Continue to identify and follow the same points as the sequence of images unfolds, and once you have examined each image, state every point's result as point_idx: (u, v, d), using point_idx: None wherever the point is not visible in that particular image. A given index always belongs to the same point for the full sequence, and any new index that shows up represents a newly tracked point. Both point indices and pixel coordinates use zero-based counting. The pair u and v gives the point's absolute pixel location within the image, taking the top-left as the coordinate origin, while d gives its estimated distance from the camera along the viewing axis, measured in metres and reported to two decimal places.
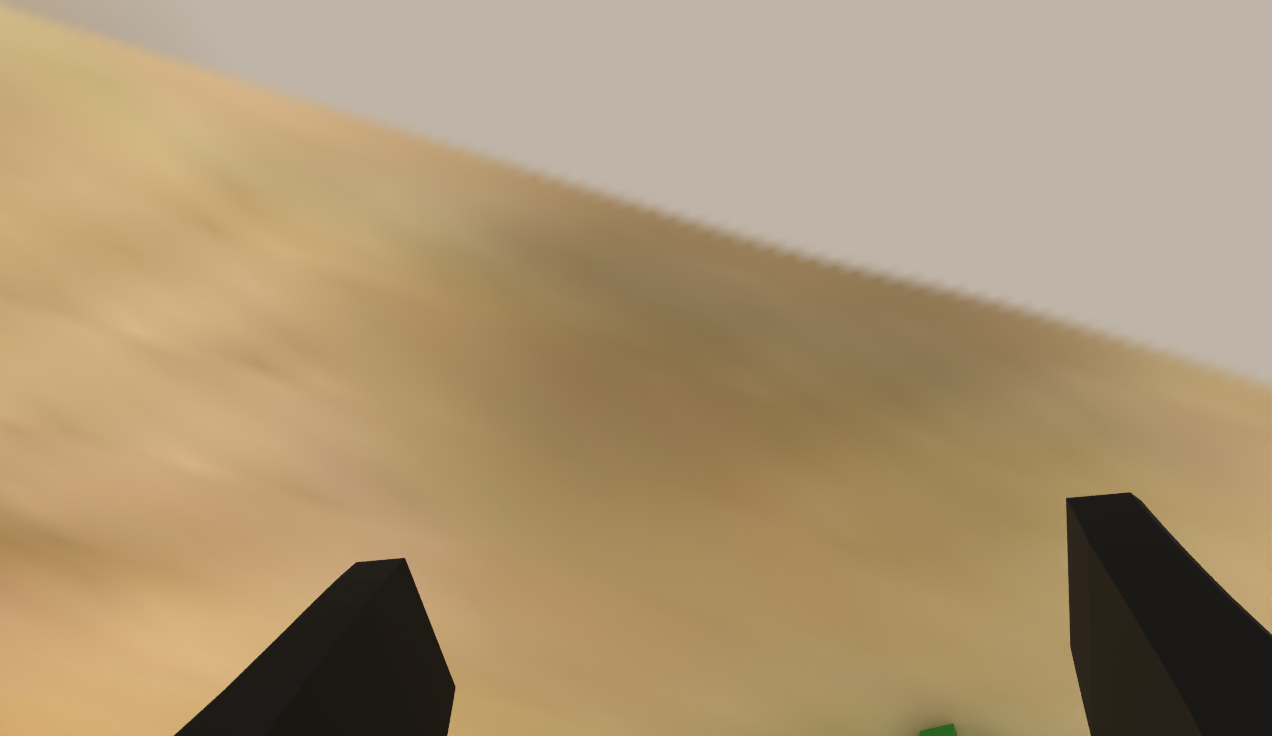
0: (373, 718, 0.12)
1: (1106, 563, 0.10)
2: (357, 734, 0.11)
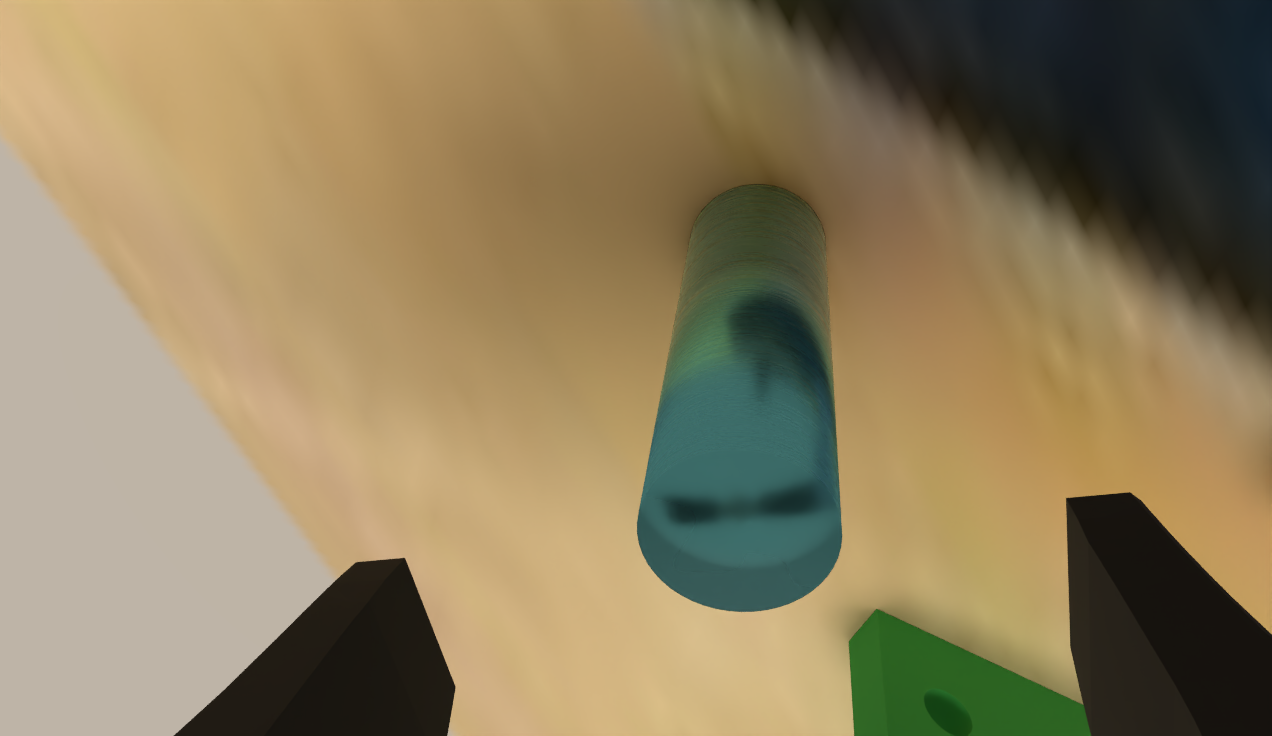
0: (373, 718, 0.12)
1: (1106, 563, 0.10)
2: (357, 734, 0.11)
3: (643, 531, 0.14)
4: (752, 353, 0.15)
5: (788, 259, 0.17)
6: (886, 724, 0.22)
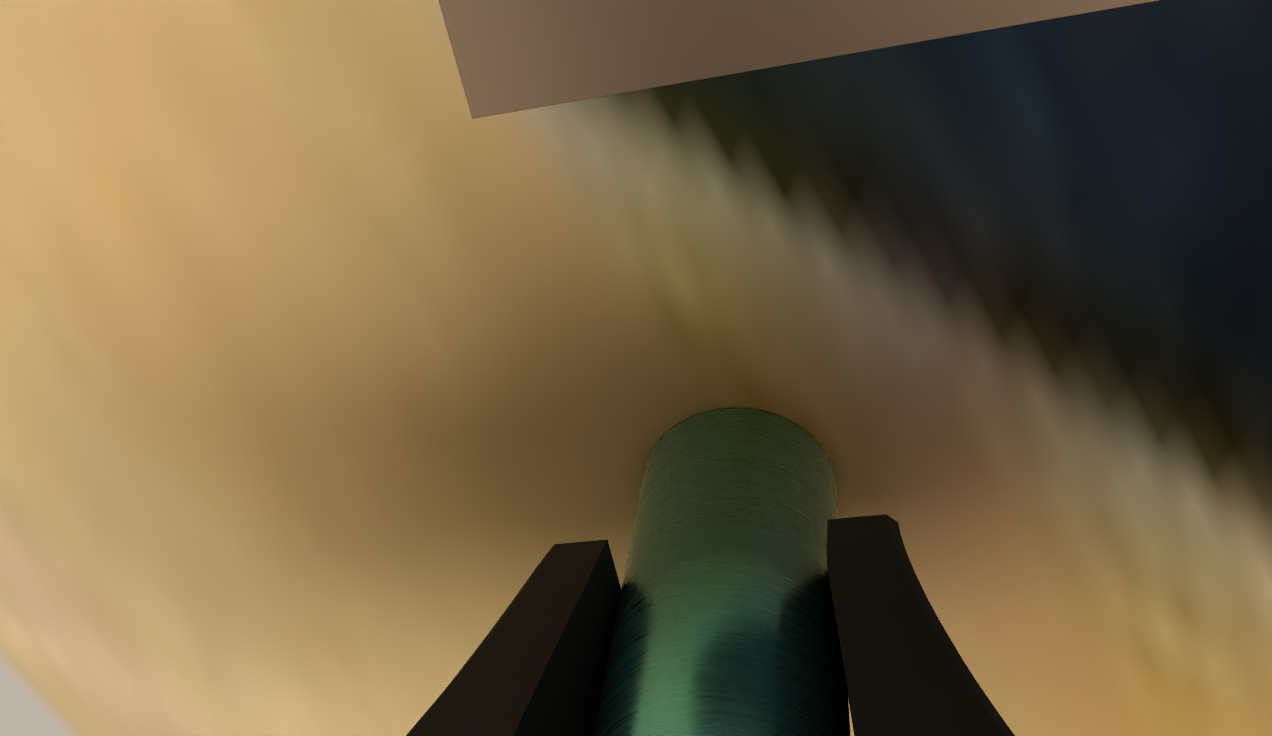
0: (593, 705, 0.11)
1: (835, 585, 0.10)
2: (583, 721, 0.11)
3: None
4: None
5: (784, 569, 0.11)
6: None
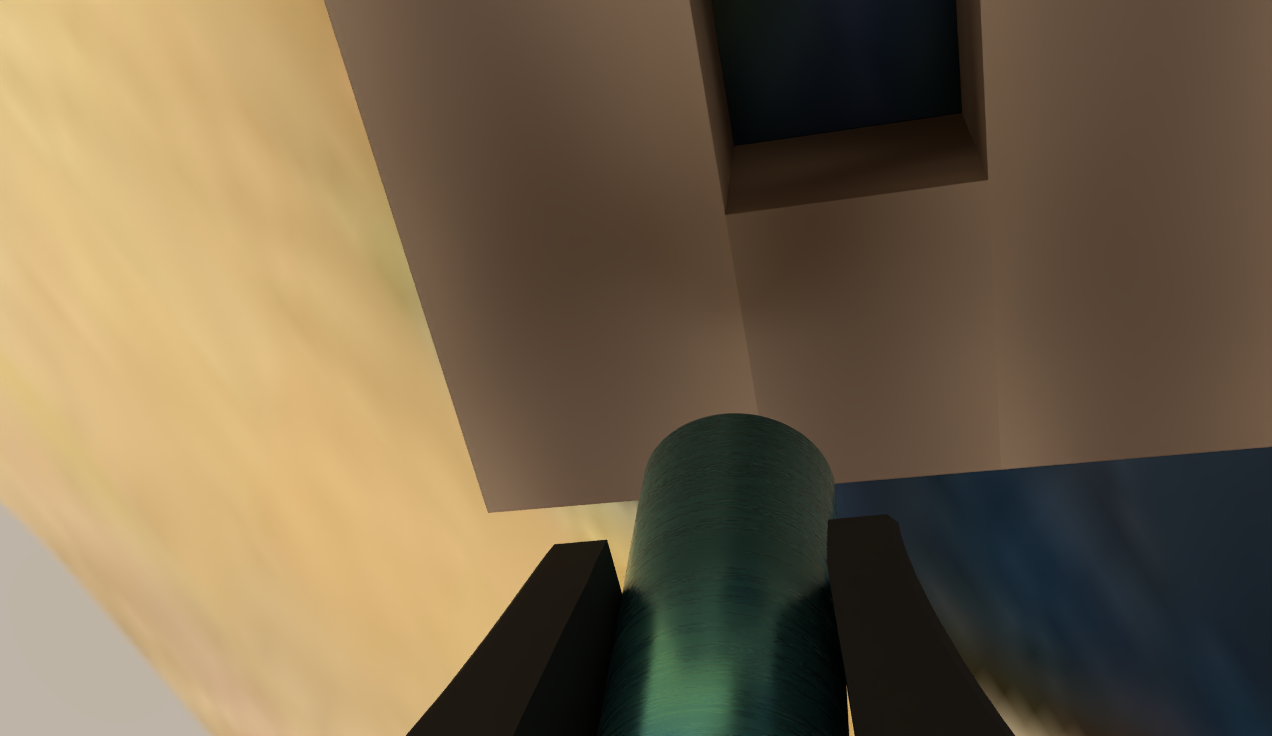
0: (593, 705, 0.11)
1: (835, 585, 0.10)
2: (583, 721, 0.11)
3: None
4: None
5: (790, 581, 0.11)
6: None
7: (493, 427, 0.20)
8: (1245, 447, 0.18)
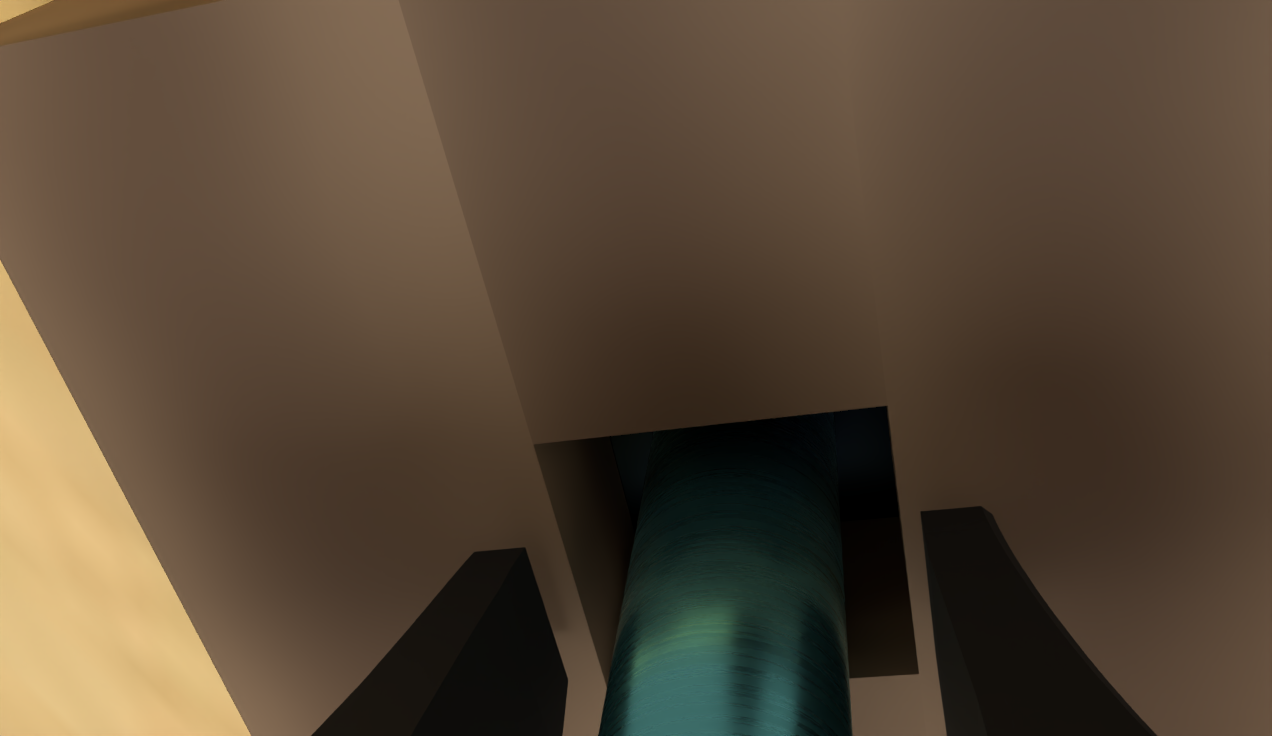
0: (504, 710, 0.11)
1: (940, 576, 0.10)
2: (491, 725, 0.11)
3: None
4: (744, 676, 0.10)
5: (793, 481, 0.13)
6: None
7: None
8: None
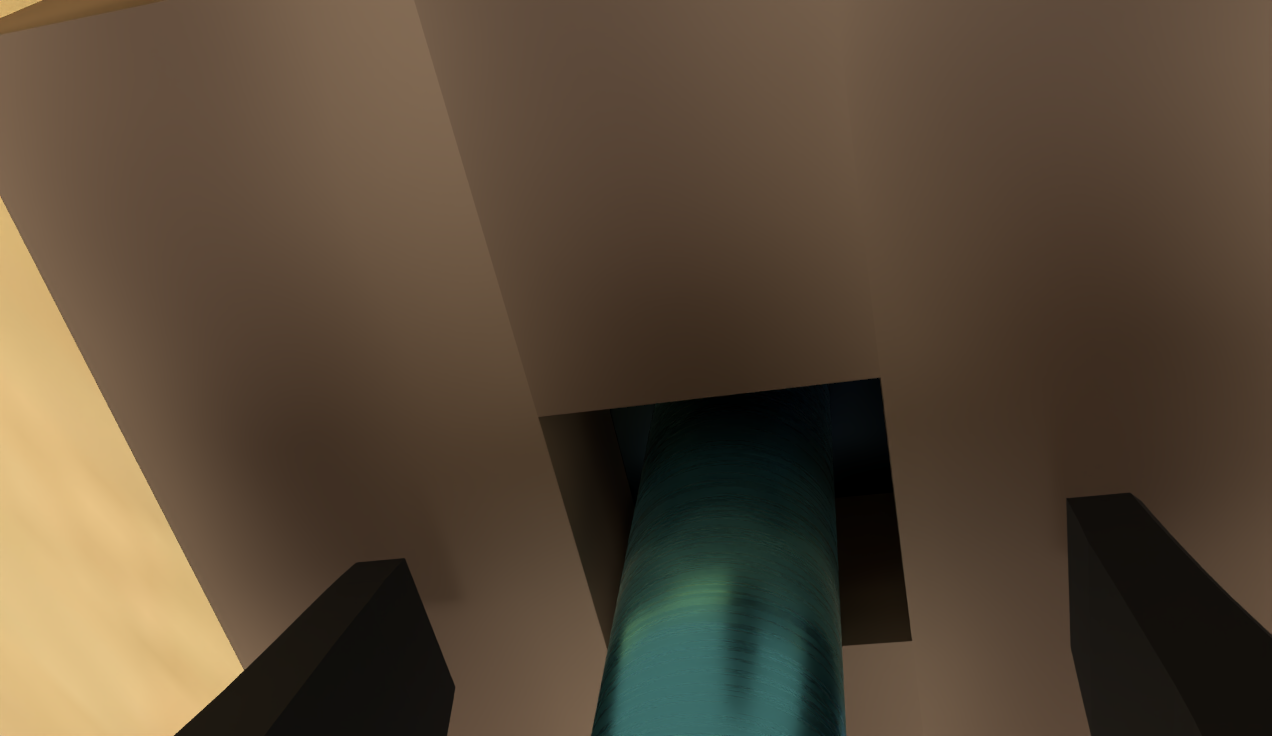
0: (373, 718, 0.12)
1: (1106, 563, 0.10)
2: (356, 735, 0.11)
3: None
4: (740, 633, 0.10)
5: (789, 453, 0.13)
6: None
7: None
8: None
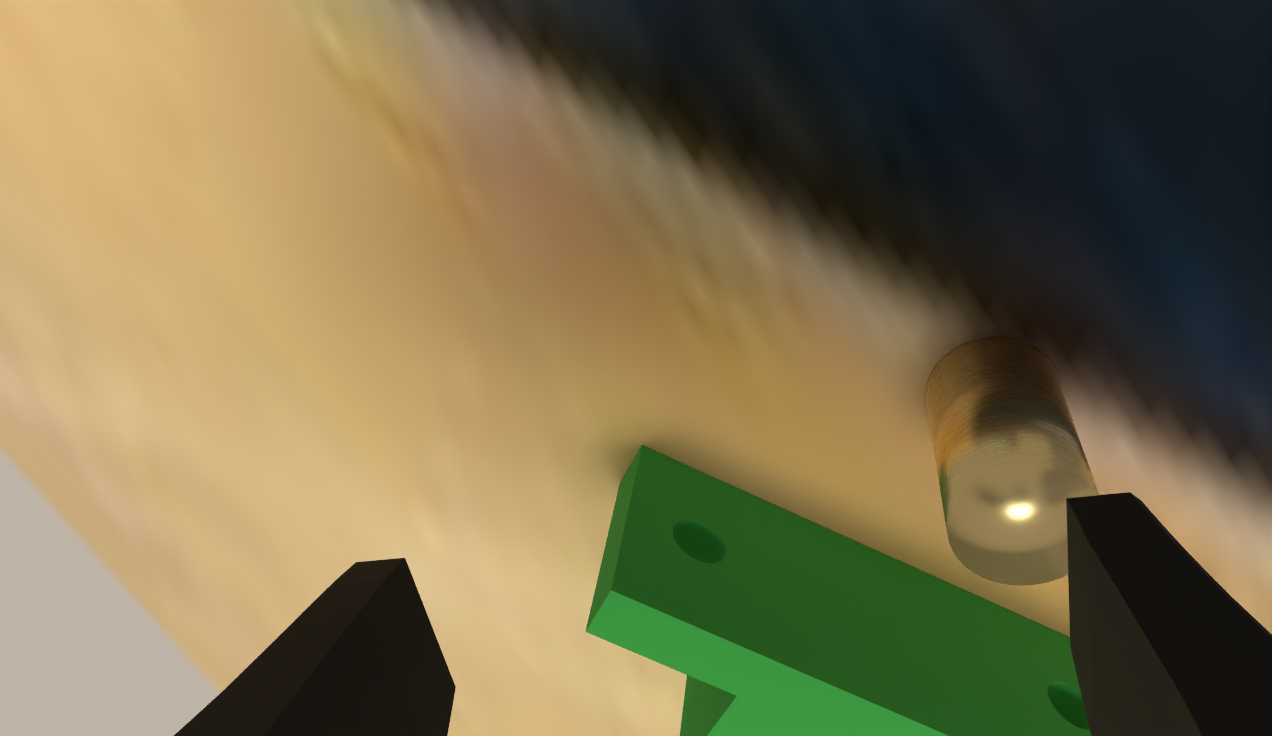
0: (373, 718, 0.12)
1: (1106, 563, 0.10)
2: (356, 735, 0.11)
3: None
4: None
5: None
6: (619, 545, 0.20)
7: None
8: None
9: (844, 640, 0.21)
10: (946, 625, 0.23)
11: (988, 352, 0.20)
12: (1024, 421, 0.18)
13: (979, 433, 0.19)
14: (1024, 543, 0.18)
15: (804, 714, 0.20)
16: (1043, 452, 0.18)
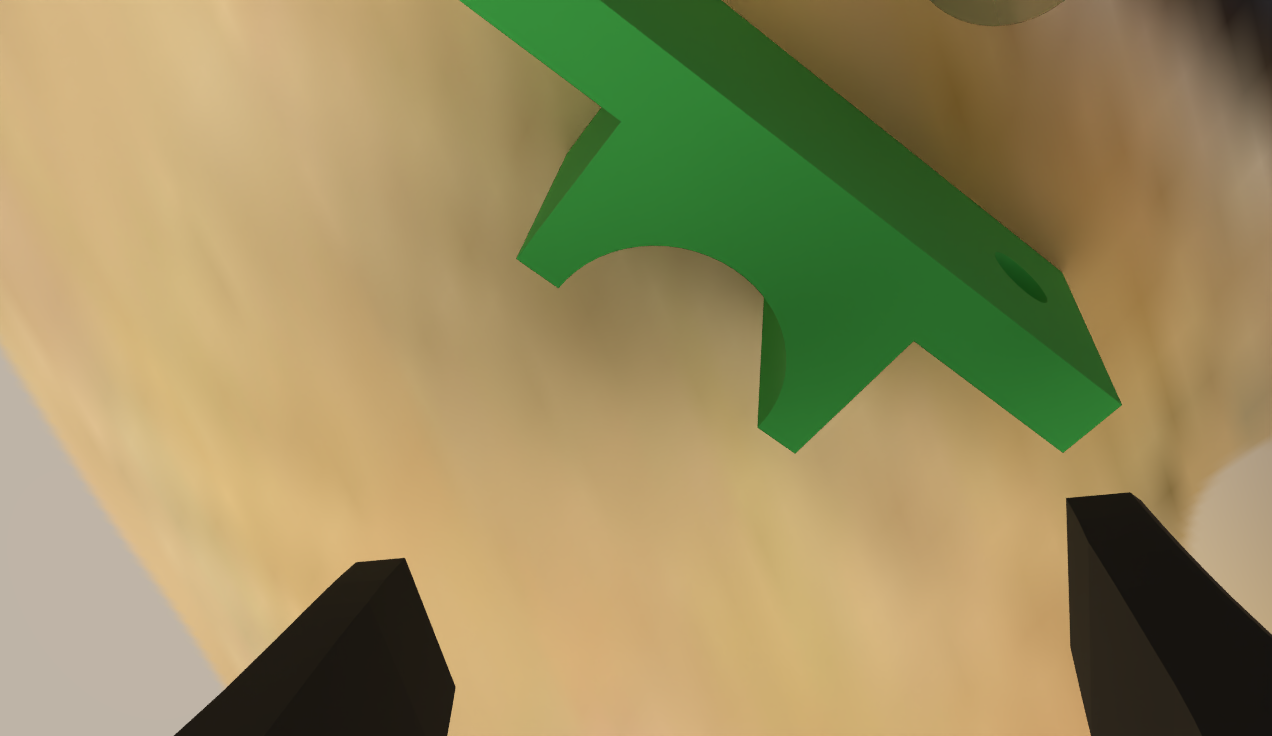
0: (373, 718, 0.12)
1: (1106, 563, 0.10)
2: (357, 733, 0.11)
3: None
4: None
5: None
6: None
7: None
8: None
9: (768, 99, 0.16)
10: (886, 157, 0.18)
11: None
12: None
13: None
14: None
15: (705, 164, 0.15)
16: None
